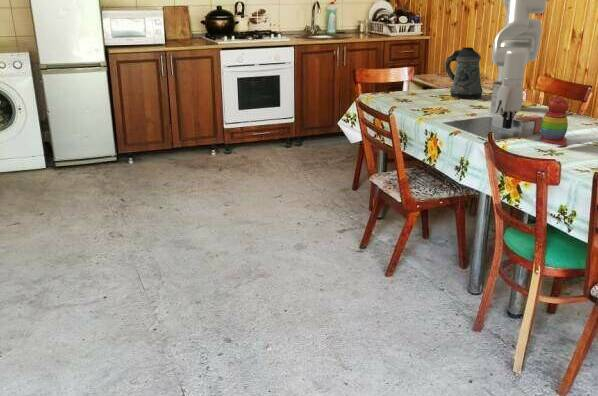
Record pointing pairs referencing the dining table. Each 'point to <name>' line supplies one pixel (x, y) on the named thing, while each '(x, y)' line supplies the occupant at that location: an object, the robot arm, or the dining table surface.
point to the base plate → (484, 128)
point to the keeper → (535, 118)
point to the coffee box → (495, 96)
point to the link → (514, 124)
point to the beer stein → (465, 74)
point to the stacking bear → (555, 122)
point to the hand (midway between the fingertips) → (506, 128)
